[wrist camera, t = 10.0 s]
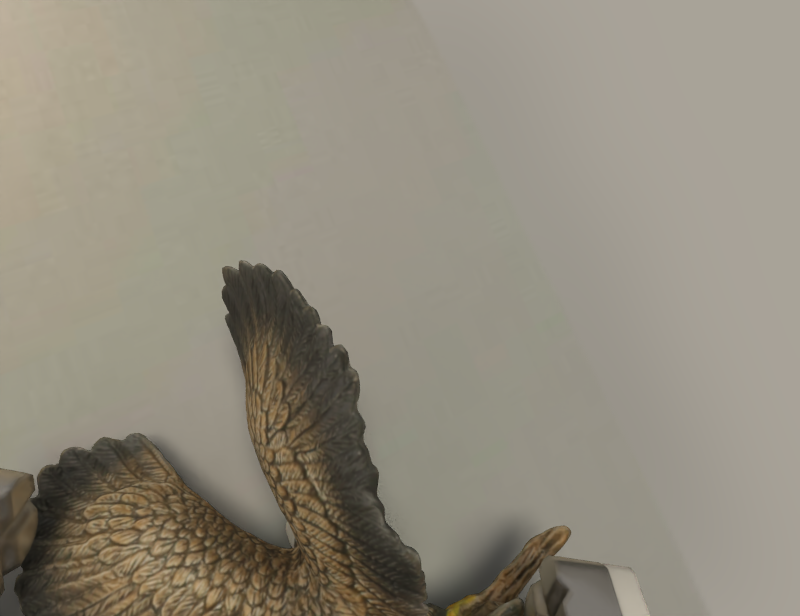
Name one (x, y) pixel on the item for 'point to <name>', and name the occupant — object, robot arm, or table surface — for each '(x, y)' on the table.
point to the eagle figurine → (219, 538)
